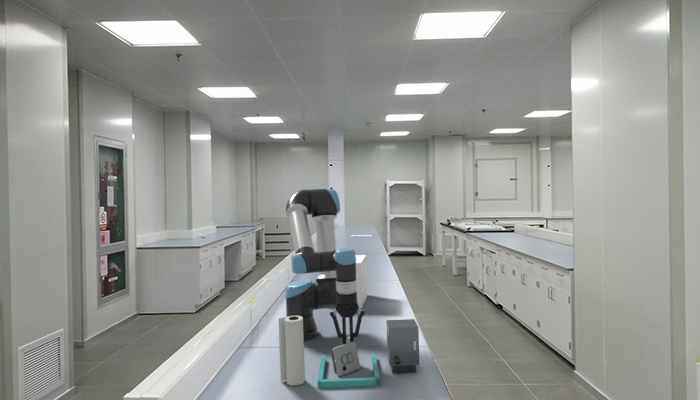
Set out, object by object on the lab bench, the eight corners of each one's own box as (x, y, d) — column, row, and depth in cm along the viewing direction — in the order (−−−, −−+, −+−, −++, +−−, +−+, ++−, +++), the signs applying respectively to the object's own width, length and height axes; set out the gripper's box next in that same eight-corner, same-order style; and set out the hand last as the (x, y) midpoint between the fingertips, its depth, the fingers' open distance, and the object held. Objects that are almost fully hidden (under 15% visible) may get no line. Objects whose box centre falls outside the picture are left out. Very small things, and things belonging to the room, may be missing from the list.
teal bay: (317, 388, 124) (317, 381, 124) (321, 360, 144) (321, 355, 144) (380, 385, 124) (380, 379, 124) (375, 358, 144) (375, 353, 144)
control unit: (390, 376, 130) (389, 329, 129) (387, 363, 140) (386, 319, 139) (420, 375, 130) (419, 328, 129) (415, 362, 140) (414, 318, 139)
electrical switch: (338, 377, 130) (336, 349, 131) (330, 373, 135) (328, 346, 135) (360, 369, 136) (358, 342, 136) (352, 365, 140) (350, 339, 141)
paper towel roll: (308, 381, 129) (306, 317, 128) (294, 388, 124) (292, 322, 124) (294, 374, 134) (292, 313, 133) (280, 381, 129) (278, 317, 128)
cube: (362, 308, 207) (360, 263, 206) (323, 308, 210) (321, 263, 210) (367, 295, 232) (366, 255, 231) (332, 295, 235) (331, 255, 234)
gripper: (328, 295, 137) (330, 361, 138) (364, 293, 137) (367, 359, 138) (329, 289, 145) (331, 352, 145) (363, 288, 145) (365, 350, 145)
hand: (348, 355), depth 142 cm, fingers closed
